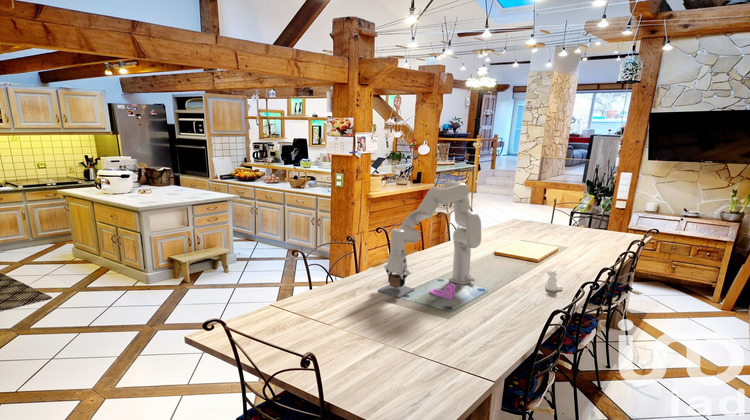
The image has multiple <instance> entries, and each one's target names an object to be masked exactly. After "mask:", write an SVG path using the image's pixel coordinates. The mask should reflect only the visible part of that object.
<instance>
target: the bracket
mask: <svg viewBox="0 0 750 420" xmlns="http://www.w3.org/2000/svg"><path fill="white" fill-rule="evenodd" d="M429 294H430V295H433V296H437V297H440V296H441V297H440V298H445V299H447V298H448V300H452V299H453V298H454V297H455V296H456V283H453V282H450V283H448V284H447V285H445V287H444V290H442V289H438V288H431V289H429ZM451 298H452V299H451Z"/></svg>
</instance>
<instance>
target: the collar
mask: <svg viewBox="0 0 750 420" xmlns="http://www.w3.org/2000/svg"><path fill="white" fill-rule="evenodd" d="M400 279H401V276H400V274H397V273H392V275H390V283H389V284H390V286H392V287H402V286H400Z"/></svg>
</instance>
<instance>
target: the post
mask: <svg viewBox="0 0 750 420" xmlns="http://www.w3.org/2000/svg"><path fill="white" fill-rule="evenodd" d="M414 291H415V288H412V287H410V286H407V285H403V286H402V287H392V286H390V283H389V284H387V285H385V286H383V287H380V288H379V289H377V292H378V293H382V294H385V295H388V296H391V297H395V298H398V299H401V298H402V297H404V296H407V295H408V294H410V293H412V292H414Z"/></svg>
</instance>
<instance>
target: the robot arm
mask: <svg viewBox="0 0 750 420" xmlns="http://www.w3.org/2000/svg"><path fill="white" fill-rule="evenodd" d="M469 194H470V187H469V185H467V184H466V183H463V182H460V181H455V180H447V181H445V182H444V183H443V186H442V187H441V186H432V187H430V188H429V189H428V191H427V192H426V194H425V196H424V198H423V199H422V201H421V202H420V204H419V206H418V207H417V209H415V210H414V211H412V212H411V213H410V214H408V215H407V216H406V217H405V218H404V220H403V222H402V223H401V225H400V227H399V228H393V229H392V230H391V232H390V253H389V255H388V260H387V264H386V265H384V270H385V273H387V276H388V283H389V284H390V275H392V274H400V276H401V279H400V286H405V283H406V278H407V277H408V276H410V274H411V272H410V271H409V270H408V260H407V255H406V254H407V251H405V250H406V248H405V245H406V244H416V243H417V242H419V241H420V239H421V236H422V235H421V233H420V232H419V230H418V229H415V228H414V227H416V225H417V224H418V223H420V222H422V221H423V220H425V219H426V220H427V219H429V218H430V219H431V217H432V216H433V214H434V213H435V211H436V210H437V208H438V207H439V204H440V205H448V204H452V203H453V207H454V222H455V223H456V225H458V226H460V227H458V228H456V229H455V230H453V234H452V238H453V239H452V240H453V261H452V263H453V265H452V275H451V276H450V277H449V281H450V283H454V284H458V285H467V284H468V285H469V284H470V283H472V282H473V283H475V282H476V277H475V276H472V273H470V271H471V270H470V269H471V256H472V254H471V253H472V250H471V249H476V248H478V247H479V246H480V245H481V242H482V220H481V217H480V216H479V214H478V213H476V212H474V211H472V210H471V206H470V199H469V196H468V195H469Z"/></svg>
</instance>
